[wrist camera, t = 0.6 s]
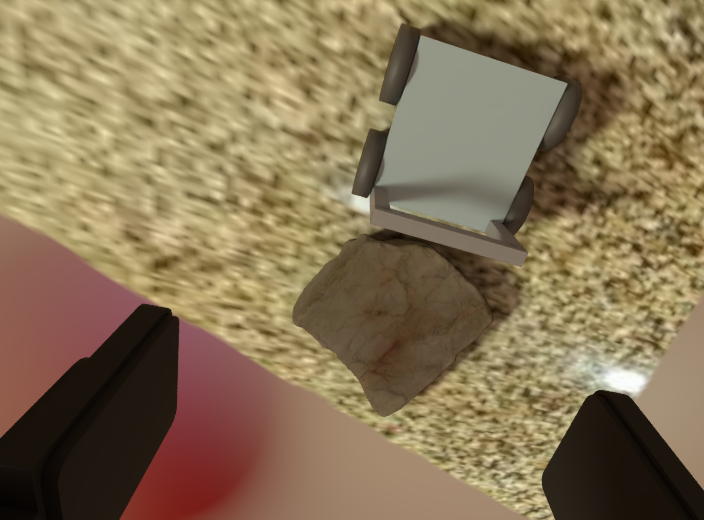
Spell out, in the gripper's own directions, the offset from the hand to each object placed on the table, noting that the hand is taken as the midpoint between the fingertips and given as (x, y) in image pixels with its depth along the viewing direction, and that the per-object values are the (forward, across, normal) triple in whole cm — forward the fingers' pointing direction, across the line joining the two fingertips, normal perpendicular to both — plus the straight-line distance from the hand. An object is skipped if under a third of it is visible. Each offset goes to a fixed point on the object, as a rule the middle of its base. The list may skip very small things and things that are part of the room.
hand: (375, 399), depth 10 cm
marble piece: (+28, -4, +14) cm, 31 cm away
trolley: (+27, -6, -3) cm, 28 cm away
